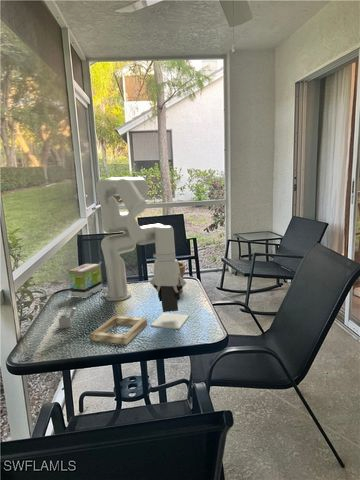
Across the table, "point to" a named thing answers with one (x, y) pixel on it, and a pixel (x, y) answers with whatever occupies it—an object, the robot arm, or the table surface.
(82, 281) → the tea box
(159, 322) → the cream mat
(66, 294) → the table surface
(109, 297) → the robot arm
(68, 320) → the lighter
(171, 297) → the phone stand
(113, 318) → the wooden frame
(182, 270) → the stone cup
